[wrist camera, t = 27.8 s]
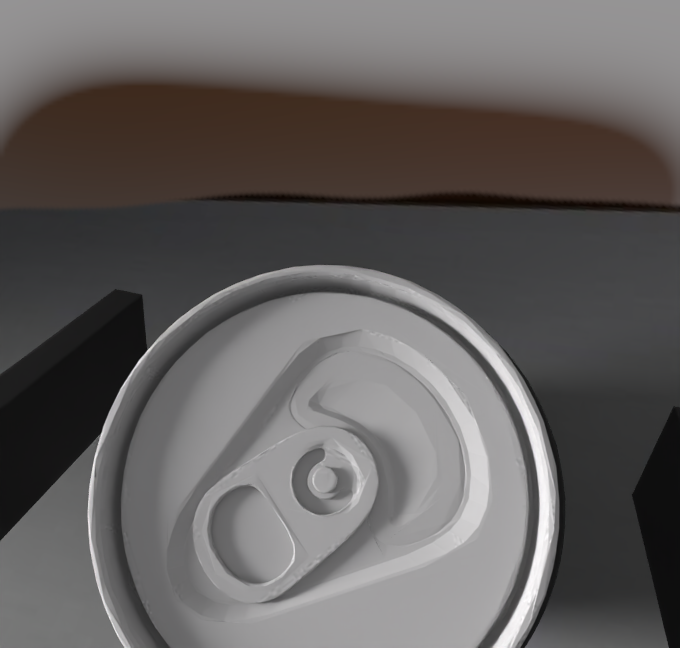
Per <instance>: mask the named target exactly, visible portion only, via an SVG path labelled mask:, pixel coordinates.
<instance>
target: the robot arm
mask: <svg viewBox="0 0 680 648" xmlns="http://www.w3.org/2000/svg"><path fill="white" fill-rule="evenodd" d="M146 352H147V344H146V333H145V321H144V310H143V298H142V295H141V294H136V293H131V292H127V291H122V290H117V289H115V290H114V291H112V292H111V293H110V294H108V295H107V296H106V297H104V298H103V299H102V300H100V301H99V302H98V303H96V304H95V305H94V306H92V307H91V308H90V309H88V310H87V311H86V312H84V313H83V314H81V315H80V316H79V317H77V318H76V319H75V320H73V321H72V322H71V323H69V324H68V325H67V326H65V327H64V328H63V329H61V330H60V331H59V332H57V333H56V334H55V335H53V336H52V337H51V338H49V339H48V340H46V341H45V342H44V343H42V344H41V345H40V346H38V347H37V348H36V349H34V350H33V351H32V352H30V353H29V354H28V355H26V356H25V357H24V358H22V359H21V360H20V361H18V362H17V363H16V364H14V365H13V366H11V367H10V368H9V369H7V370H6V371H5V372H3V373H2V374H1V375H0V540H1V539H2V538H3V537H4V536H5V535H6V534H7V533H8V532H9V531H10V530H11V529H12V528H13V527H14V525H15V524H16V523H17V522H18V521H19V520H20V519H21V518H22V517H23V516H24V515H25V514H26V513H27V512H28V511H29V509H30V508H31V507H32V506H33V505H34V504H35V503H36V502H37V501H38V500H39V499H40V498H41V497H42V496H43V495H44V493H45V492H46V491H47V490H48V489H49V488H50V487H51V486H52V485H53V484H54V483H55V482H56V481H57V480H58V479H59V477H60V476H61V475H62V474H63V473H64V472H65V471H66V470H67V469H68V468H69V467H70V466H71V465H72V464H73V462H74V461H75V460H76V459H77V458H78V457H79V456H80V455H81V454H82V453H83V452H84V451H85V450H86V449H87V448H88V446H89V445H90V444H91V443H92V442H93V441H94V440H95V439H96V438H97V437H98V436H99V435H100V434H101V433H102V430H103V426H104V424H105V421H106V419H107V416H108V414H109V411H110V409H111V407H112V405H113V403H114V401H115V399H116V397H117V395H118V393H119V391H120V389H121V387H122V386H123V384H124V383H125V381H126V380H127V378H128V377H129V375H130V373H131V372H132V370H133V369H134V367H135V366H136V364H137V363H138V361H139V360H140V359H141V358H142V356H143V355H144V354H145V353H146ZM632 497H633V501H634V505H635V509H636V513H637V517H638V521H639V526H640V530H641V534H642V538H643V542H644V546H645V550H646V554H647V559H648V563H649V567H650V571H651V575H652V579H653V583H654V588H655V592H656V596H657V600H658V604H659V608H660V612H661V616H662V621H663V625H664V629H665V633H666V637H667V641H668V645H669V648H680V408H679V407H675V406H674V407H673V409H672V411H671V414H670V416H669V418H668V420H667V422H666V424H665V426H664V428H663V431H662V433H661V435H660V437H659V439H658V441H657V443H656V445H655V447H654V450H653V452H652V454H651V456H650V458H649V460H648V462H647V464H646V467H645V469H644V471H643V473H642V475H641V477H640V479H639V481H638V484H637V486H636V488H635V490H634V492H633V494H632Z"/></svg>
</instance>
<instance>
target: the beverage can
mask: <svg viewBox="0 0 680 648" xmlns="http://www.w3.org/2000/svg"><path fill="white" fill-rule="evenodd" d="M88 526H89V542H90V551H91V556H92V561H93V567H94V572H95V577H96V582H97V585H98V588H99V591H100V594H101V597H102V600H103V603H104V607H105V610H106V612H107V614H108V616H109V618H110V621H111V623H112V625H113V627H114V629H115V632H116V634H117V636H118V638H119V640H120V641H121V643H122V644H123V646H124V647H125V648H525V646H526V645H527V643H528V641H529V640H530V638H531V637H532V635H533V633H534V631H535V629H536V627H537V626H538V624H539V622H540V620H541V617H542V615H543V613H544V611H545V609H546V606H547V604H548V601H549V598H550V596H551V593H552V590H553V587H554V584H555V580H556V577H557V573H558V568H559V564H560V559H561V553H562V547H563V539H564V529H565V492H564V484H563V477H562V471H561V465H560V460H559V455H558V450H557V445H556V443H555V440H554V437H553V434H552V431H551V429H550V426H549V423H548V421H547V418H546V416H545V414H544V411H543V409H542V407H541V405H540V403H539V401H538V399H537V397H536V395H535V393H534V391H533V389H532V388H531V386H530V384H529V382H528V380H527V379H526V378H525V376H524V375H523V374H522V372H521V371H520V369H519V368H518V367H517V365H516V364H515V363H514V361H513V360H512V359H511V357H510V356H509V355H508V353H507V352H506V351H505V350H504V349H503V348H502V347H501V346H500V345H499V344H498V343H497V342H496V341H495V340H494V339H493V338H492V337H491V336H490V335H489V334H488V333H487V332H486V331H485V330H484V329H482V328H481V327H480V326H479V325H478V324H477V323H476V322H475V321H474V320H473V319H472V318H470V317H469V316H468V315H466V314H465V313H464V312H462V311H461V310H460V309H459V308H457V307H456V306H454V305H453V304H451V303H450V302H448V301H447V300H445V299H444V298H442V297H441V296H439V295H437V294H435V293H433V292H431V291H429V290H427V289H425V288H423V287H421V286H419V285H417V284H415V283H413V282H411V281H409V280H406V279H403V278H399V277H396V276H393V275H390V274H387V273H383V272H379V271H375V270H371V269H365V268H359V267H352V266H340V265H311V266H299V267H290V268H286V269H282V270H277V271H273V272H269V273H264V274H261V275H258V276H255V277H253V278H250V279H247V280H244V281H242V282H239V283H236V284H234V285H232V286H230V287H228V288H226V289H224V290H222V291H220V292H218V293H216V294H214V295H212V296H211V297H209V298H208V299H206V300H205V301H203V302H202V303H200V304H199V305H197V306H196V307H194V308H193V309H191V310H190V311H189V312H187V313H186V314H185V315H183V316H182V317H181V318H179V319H178V320H177V321H176V322H175V323H173V324H172V325H171V326H170V327H169V328H168V329H167V330H166V331H165V332H164V333H163V334H162V335H161V336H160V337H159V338H158V339H157V340H156V341H155V343H154V344H153V345H152V346H151V347H150V348H149V349H148V351H147V352H146V353H145V354H144V355H143V356H142V358H141V359H140V360H139V361H138V363H137V364H136V366H135V367H134V369H133V370H132V372H131V373H130V375H129V377H128V378H127V380H126V381H125V383H124V384H123V386H122V387H121V389H120V391H119V393H118V395H117V397H116V399H115V401H114V403H113V405H112V407H111V409H110V411H109V414H108V416H107V419H106V421H105V424H104V426H103V430H102V433H101V437H100V440H99V444H98V447H97V450H96V454H95V457H94V463H93V469H92V474H91V480H90V487H89V502H88Z"/></svg>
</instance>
